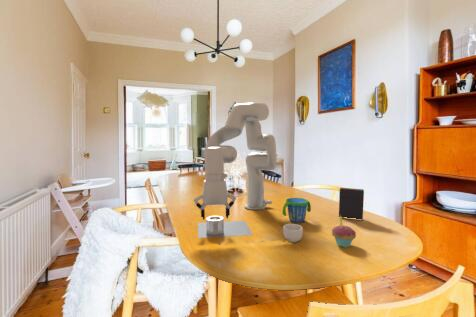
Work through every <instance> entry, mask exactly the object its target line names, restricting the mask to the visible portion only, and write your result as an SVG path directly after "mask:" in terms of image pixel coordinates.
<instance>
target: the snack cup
mask: <svg viewBox="0 0 476 317" xmlns="http://www.w3.org/2000/svg"><path fill="white" fill-rule="evenodd" d="M285 200H286V202H285V203H284V204H283V207H282V215H283V216H284V217H286V216H287V213H288V219H289V221H290V222H293V223H302V222H305V219H306V215H307V212H308V213H310V212H311V211H312V207H311V206H312V205H311V202H310V201H309V200H308V199H306V198H302V197H290V198H287V199H285ZM286 209H287V212H286Z"/></svg>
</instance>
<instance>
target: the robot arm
mask: <svg viewBox="0 0 476 317" xmlns="http://www.w3.org/2000/svg"><path fill="white" fill-rule="evenodd" d="M269 114H270V110H269V106H268V105H267V104H266V103H262V102H261V103H260V102H243V103H241V102H240V103H236V104H234V105H233V106H232V107H231V110H230V112H229V114H228V116H227V119H226V122H225V124H224V125H223V126H222V127H220V128H218V130H216V131H215V132H214V133H212V134H211V136H210V137H209V138H208V141H207V143H206V145H205V147H204V150H203V157H204V164H205V165H204V166H205V169H204V171H205V172H204V173H205V179H204V180H203V184H202V194H201V195H198V196H197V197H195V198H193V202H194V203H195V205H196V207H197V208H198V209H199V210H200V217H201V218H202V220H203V221H204V220H206V218H205V217H206V216H205V212H206V211H205V208H206V206H221V205H222V206H225V218H226V219H229V216H230V211H231V210H230V209H231V208H232V206H233V205H234V204H235V202H236V200H237V197H236V196H234V195H232V194H230V193H228V187H227V181H226V178H228V174H227V173H225V164H232V163H234V162H235V161H236V160H237V157H238V151H237V149H236V147H234V146H232V145H221V144H223V143H225V142H228V141H230V140H233V139H235V138H238V137H239V136H241V135H242V133H243V130H244V129H245V137H246V145H247V146H246V147H247V149H248V150H249V151H251V152H250V153H248V154H247V155H246V156H245V165H246V174H247V176H246V177H247V179H246V180H247V182H246V184H247V186H246V188H247V192H246V196H247V197H246V198H247V199H246V200H247V201H246V202H247V203H245V204H244V208H245V209H247V210H251V211H259V210H262V211H263V210H265V209H266V208H267V205H272V204H273V200H268V199H267V200H266V199H265V198H264V197H265V177H264V174H263V172H262V171H275V169H276V167H277V165H278V164H277V161H278V160H277V143H276V138H275V136H274V135H273V134H271V133H270V134H269V133H262V125H261V122H260V121H266V120H267V119H268V118H269V116H270V115H269ZM244 127H245V128H244ZM252 151H253V152H252ZM228 198H229V199H231V201H230V202H228V201H229V200H228ZM200 200H202V203H200V202H199V201H200Z"/></svg>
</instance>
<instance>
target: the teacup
mask: <svg viewBox="0 0 476 317" xmlns="http://www.w3.org/2000/svg"><path fill="white" fill-rule="evenodd" d="M303 228H304V227H303V226H302V225H300V224H297V223H287V224H284V225H283V226H282V233H283V237H284V238H285V240H286V241H288V242H289V243H297V241H298V242H300V240H302V238H303V233H304V232H303V231H304V230H303Z"/></svg>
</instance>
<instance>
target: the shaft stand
mask: <svg viewBox="0 0 476 317" xmlns="http://www.w3.org/2000/svg"><path fill="white" fill-rule="evenodd" d="M212 220H218V219H216V218H214V219H212ZM253 235H254V234H253V233H252V231H251V229H250V227H249V225H248V223H247V222H246V220H231V221H224V233H223V234H221V235H216V236H212V235H208V234H207V228H206V222H197V239H205V238H209V239H210V238H223V237H239V236H241V237H242V236H244V237H245V236H253Z"/></svg>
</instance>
